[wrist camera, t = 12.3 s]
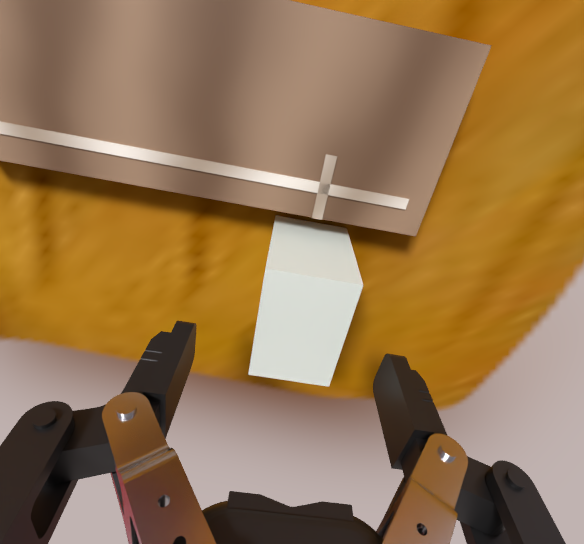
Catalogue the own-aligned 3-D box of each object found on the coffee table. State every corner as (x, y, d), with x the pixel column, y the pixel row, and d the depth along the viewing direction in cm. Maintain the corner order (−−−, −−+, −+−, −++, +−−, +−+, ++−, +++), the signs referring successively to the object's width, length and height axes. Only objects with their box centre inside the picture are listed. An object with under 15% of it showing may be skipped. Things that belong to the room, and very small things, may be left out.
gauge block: (261, 304, 22) (247, 376, 17) (275, 215, 19) (265, 268, 13) (322, 314, 22) (328, 388, 17) (346, 227, 19) (363, 285, 14)
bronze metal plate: (-15, 143, 17) (-53, 151, 15) (-71, -71, 13) (-131, -95, 11) (405, 221, 19) (416, 237, 17) (468, 49, 15) (492, 45, 13)
